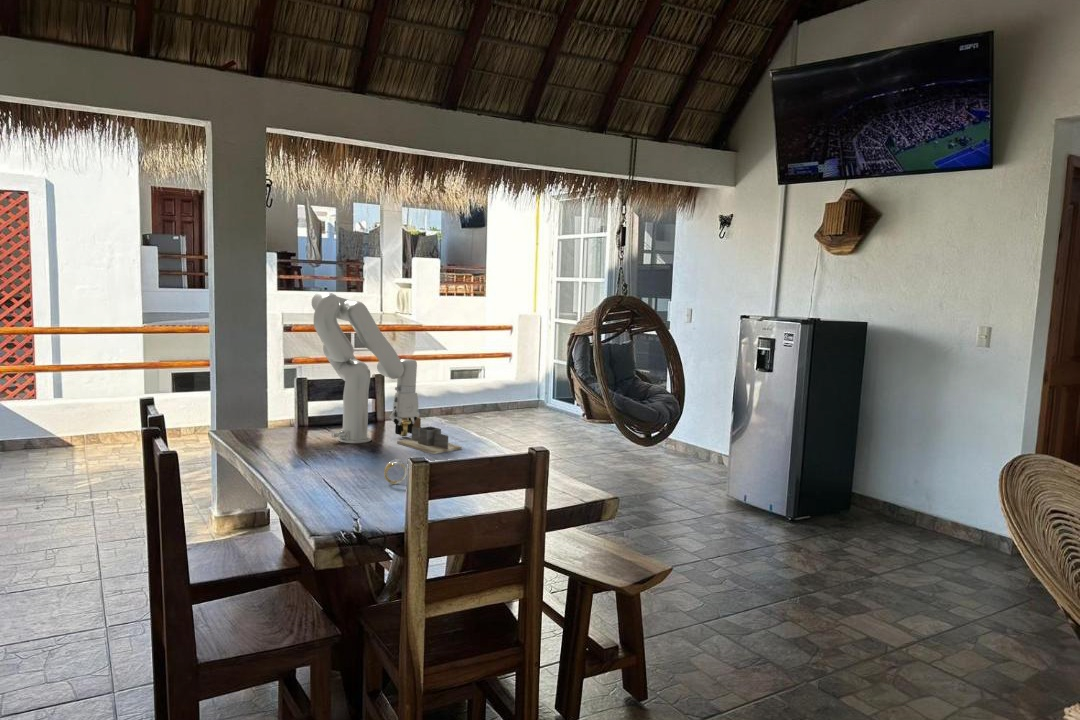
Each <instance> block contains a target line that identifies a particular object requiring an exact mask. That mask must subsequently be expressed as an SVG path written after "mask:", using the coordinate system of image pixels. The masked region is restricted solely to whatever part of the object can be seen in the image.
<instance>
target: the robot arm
mask: <svg viewBox="0 0 1080 720" xmlns="http://www.w3.org/2000/svg"><path fill="white" fill-rule="evenodd" d="M311 306H312V309H313V311H314V312H313V327H314V330H315V332H316V334H317V335H318V337H319V339H320V340H321V342H322V343H323V345H322V349H323V354H324V356H325V358H326V360H328V362H329V363H330V365H331V367H332V368H333V369H334V371H335V373H337V375H338V376H339V378H340V379H341V380H343V381H344V387H343V395H342V402H343V404H342V405H343V406H342V428H341V429H339V431H338V432H331V438H333V439H335V438H338V439H337V440H338V441H339V442H340V443H345V444H365V443H369V442H371V441H372V436H370V435H368V427H369V426H368V425H369V424H368V423H369V421H368V419H369V392H370V391H369V390H370V383H371V374H372V373H371V369H370V368H369V366H368V365H367V364H366V363H365V362H364V361H361V360H358V359H357V357H356V356H355V355H354V350H355V349H354V345H352V343H351V342H350V339H349V338H348V337H347V336H346V334H345V333H344V331H343V329H342V328H341V326H340V325H339V323H338V320H342V321H344V322H349V323H350V326H351V327H352V328H353V330H354V332H355V333H356V335H357V337H358V338H359V341H360V342H361V344H362V345H363V346H364V348H366V349H367V350H369V351H370V352H371V353H372V354H373V355H374V356H375V358H376V359H377V361H378V363H377V364H376V368H377V371H378V373H379V374H380V375H381V376H383V377H386V378H389V379H393V380H396V379H397V382H396V387H394V390H395V394H394V397H393V398H394V399H393V402H392V403H393V405H392V411H391V413H390V415H389V416H388V418H389V419H391V421H392V422H393V424H394V425H395V427H394V428H395V434H396V435H399V436H400V435H401V431H402V425H400V424H401V421H402V418H408V420H410V421H411V424H408V431H407V434H412V427H413V424H414V423H415V420H416V419H417V418H418V417H420V416H421V413H420V412H419V396H418V393H417V392H416V388H417V373H418V371H417V369H418V363H417V361H416V359H411V358H400V357H399V355H398V353H397V351H396V350H395V349H394V347H393V345H392V344H391V343H390V342H389V340H387V338H386V337H385V335H384V334H383V333H382V332H381V330H380V328H379V326H378V325H377V323H376V321H375V319H374V318H373V316H372V314H371V312H370V311H369V308H367V306H366V305H365V304H364V303H363V302H361V301H358V300H352V299H347V298H345V297H344V298H343V297H341V296H337V295H336V294H335V293H333V292H327V291H319V292H317V293H316V294H315V295H313V297H312V299H311ZM337 319H338V320H337Z"/></svg>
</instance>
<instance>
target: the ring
mask: <svg viewBox="0 0 1080 720" xmlns="http://www.w3.org/2000/svg"><path fill="white" fill-rule="evenodd" d="M402 461H403V460H402V459H399V458H394V459H391V461H389V462H387V464H386V466H385V468H384V471H383V474H384V478H385V480H386V481H387V482H389V483H390V484H392V485H393V484H394V485H397V484H400V483H402V482H403V481H405V479H406V478H407V475H408V469H407V466H406V464H405V463H403V462H402ZM395 465H400V466H401V467H402V468H403V470H404V473H403V477H402V478H400V479H399V480H396V479H395V480H391V479H390V478H389V477H388V471H389V469H391V468H392V467H393V466H395Z"/></svg>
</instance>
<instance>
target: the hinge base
mask: <svg viewBox="0 0 1080 720" xmlns="http://www.w3.org/2000/svg"><path fill="white" fill-rule="evenodd" d="M396 443H397V444H398V445H401V446H405V447H408V448H411V449H414V450H418V451H420V452H421V451H422V452H424V453H428V454H431V455H436V454H441V453H447V452H453V451H460V450H462V449H463V448H462V446H461V445H457V444H453V443H449V435H446V434H443V433H442V429H441V428H438V427H435V426H425V427H420V428H417V427H412V433H411V438H410V439H409V438H408V439H402V440H397V442H396Z"/></svg>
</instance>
